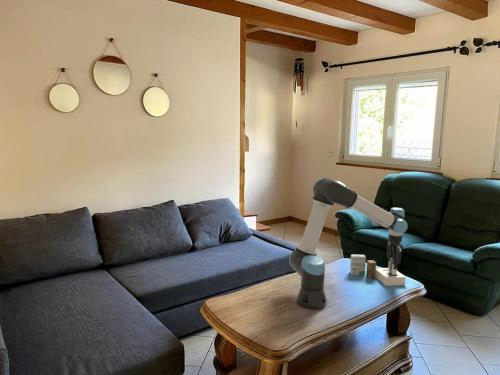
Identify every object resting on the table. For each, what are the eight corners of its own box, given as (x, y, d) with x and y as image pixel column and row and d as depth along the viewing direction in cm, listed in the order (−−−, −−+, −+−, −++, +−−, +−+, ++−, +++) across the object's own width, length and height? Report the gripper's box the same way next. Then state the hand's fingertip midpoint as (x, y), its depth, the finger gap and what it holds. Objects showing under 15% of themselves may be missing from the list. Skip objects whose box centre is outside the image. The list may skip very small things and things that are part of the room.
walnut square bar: (368, 278, 221) (370, 262, 219) (366, 275, 225) (367, 260, 223) (375, 278, 221) (376, 262, 220) (372, 275, 225) (373, 260, 223)
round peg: (390, 278, 213) (392, 258, 211) (387, 275, 216) (389, 256, 214) (396, 277, 213) (398, 258, 211) (393, 275, 217) (395, 256, 215)
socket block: (385, 285, 210) (386, 277, 210) (374, 276, 224) (375, 268, 223) (404, 285, 212) (405, 276, 211) (392, 275, 226) (393, 267, 225)
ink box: (363, 272, 230) (364, 254, 228) (365, 275, 225) (366, 257, 223) (349, 271, 231) (350, 253, 229) (350, 274, 226) (352, 256, 224)
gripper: (409, 238, 203) (405, 278, 207) (394, 230, 219) (391, 267, 223) (396, 238, 202) (393, 278, 206) (382, 230, 218) (379, 267, 222)
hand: (392, 272), depth 214 cm, fingers closed on round peg, 4 cm apart
